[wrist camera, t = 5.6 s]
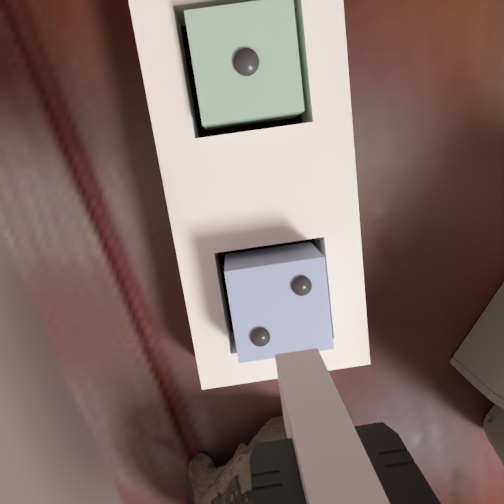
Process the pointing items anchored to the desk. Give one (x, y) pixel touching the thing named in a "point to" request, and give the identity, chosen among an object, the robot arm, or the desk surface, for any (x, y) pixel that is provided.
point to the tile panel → (257, 183)
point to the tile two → (278, 301)
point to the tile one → (245, 62)
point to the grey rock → (229, 471)
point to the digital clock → (487, 366)
